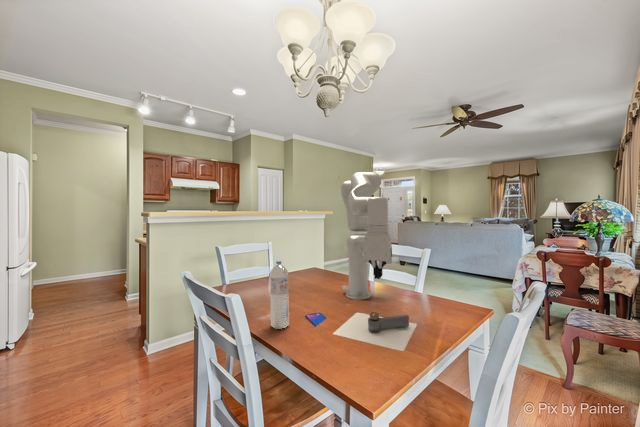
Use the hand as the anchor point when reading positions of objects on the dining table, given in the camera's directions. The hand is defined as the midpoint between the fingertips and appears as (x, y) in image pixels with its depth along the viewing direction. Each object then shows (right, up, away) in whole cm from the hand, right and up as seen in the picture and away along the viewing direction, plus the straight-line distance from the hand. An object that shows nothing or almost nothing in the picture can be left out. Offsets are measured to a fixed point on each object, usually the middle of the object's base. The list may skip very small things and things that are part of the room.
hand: (378, 277), depth 102 cm
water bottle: (-37, -19, +1) cm, 42 cm away
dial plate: (-2, -18, -6) cm, 19 cm away
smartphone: (-22, -19, +5) cm, 30 cm away
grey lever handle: (+2, -16, -6) cm, 18 cm away
